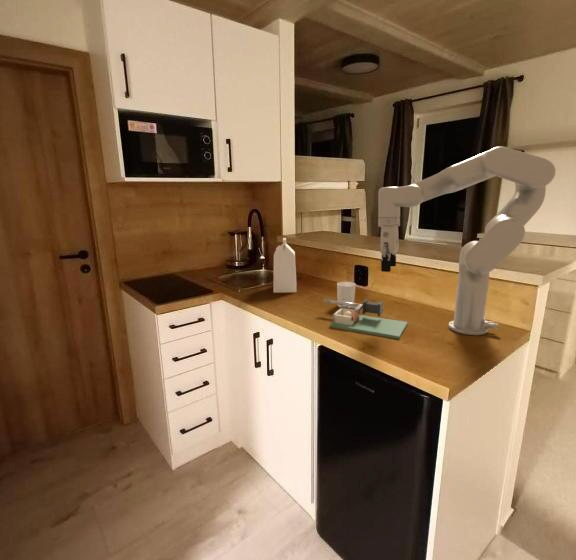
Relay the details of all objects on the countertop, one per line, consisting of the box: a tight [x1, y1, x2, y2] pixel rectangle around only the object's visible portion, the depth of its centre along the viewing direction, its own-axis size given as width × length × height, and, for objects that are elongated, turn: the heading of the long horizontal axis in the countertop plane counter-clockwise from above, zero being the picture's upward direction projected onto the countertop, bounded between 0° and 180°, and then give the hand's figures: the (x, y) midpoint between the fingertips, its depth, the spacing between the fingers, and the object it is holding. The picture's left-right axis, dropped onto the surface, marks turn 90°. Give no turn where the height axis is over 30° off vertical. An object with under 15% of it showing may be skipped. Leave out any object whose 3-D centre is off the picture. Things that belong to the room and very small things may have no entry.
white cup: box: [336, 281, 357, 309], centre depth 155 cm, size 8×8×10 cm
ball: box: [343, 311, 353, 317], centre depth 136 cm, size 4×4×4 cm
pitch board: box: [329, 305, 409, 340], centre depth 133 cm, size 25×15×4 cm, turn 62°
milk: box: [272, 237, 298, 294], centre depth 181 cm, size 12×12×26 cm
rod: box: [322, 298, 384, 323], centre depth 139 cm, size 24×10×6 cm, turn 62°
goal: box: [332, 307, 355, 325], centre depth 136 cm, size 7×9×3 cm
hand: (388, 268), depth 133 cm, fingers open, 9 cm apart
